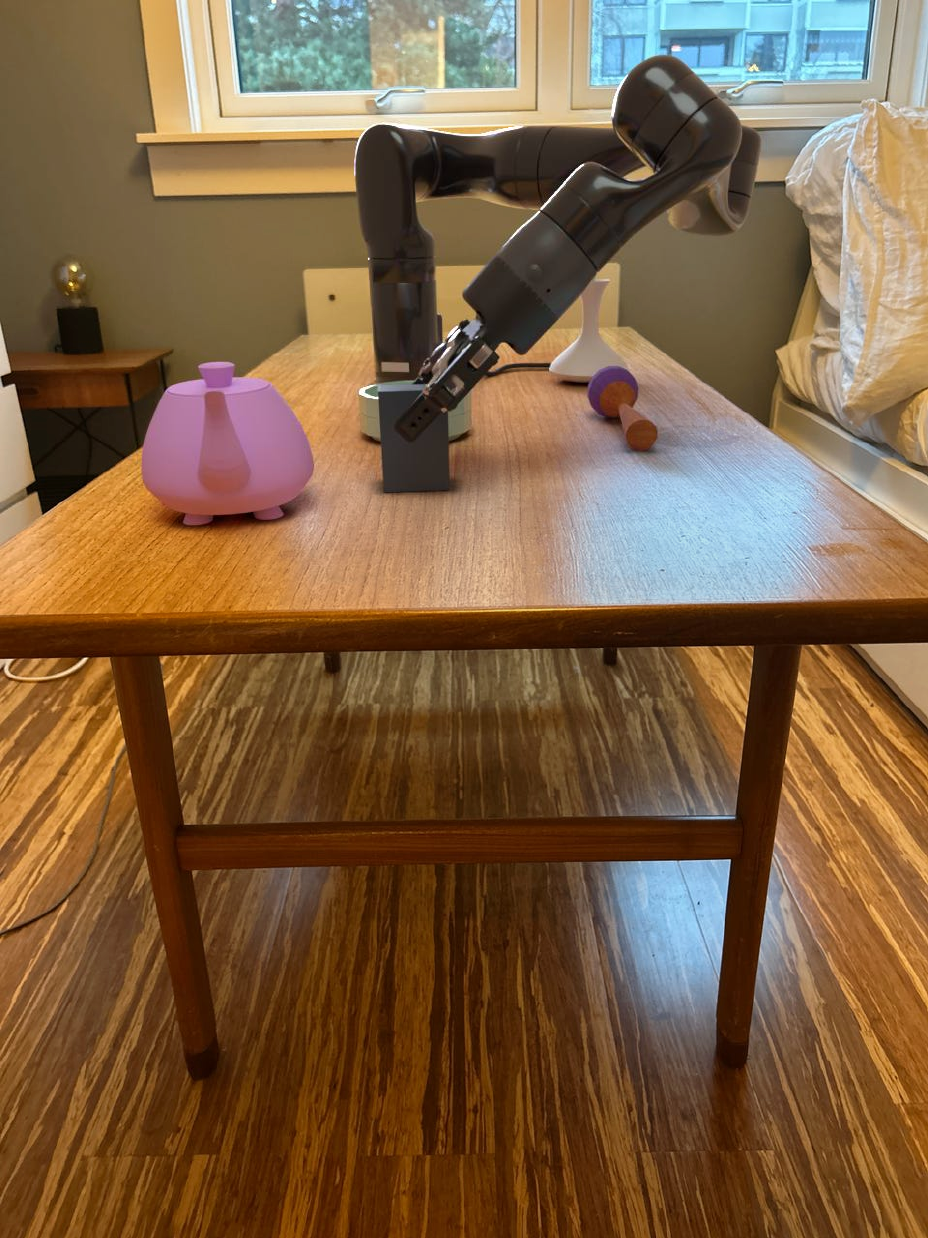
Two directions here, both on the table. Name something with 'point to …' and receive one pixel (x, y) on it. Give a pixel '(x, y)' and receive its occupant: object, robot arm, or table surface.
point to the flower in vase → (587, 343)
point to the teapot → (225, 448)
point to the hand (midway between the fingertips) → (400, 424)
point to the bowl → (369, 395)
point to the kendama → (621, 405)
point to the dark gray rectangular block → (411, 445)
